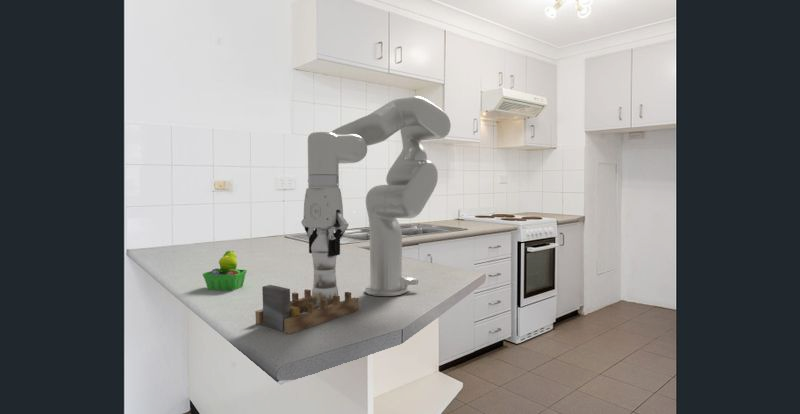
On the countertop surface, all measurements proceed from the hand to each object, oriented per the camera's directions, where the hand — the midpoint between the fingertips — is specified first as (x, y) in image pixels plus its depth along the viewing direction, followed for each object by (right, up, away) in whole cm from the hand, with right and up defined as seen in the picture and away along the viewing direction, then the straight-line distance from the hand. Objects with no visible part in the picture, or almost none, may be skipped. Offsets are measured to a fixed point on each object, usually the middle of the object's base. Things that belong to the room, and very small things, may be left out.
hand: (324, 253), depth 110 cm
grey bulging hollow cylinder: (0, -13, +1) cm, 13 cm away
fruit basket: (-36, -14, +28) cm, 47 cm away
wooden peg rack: (-3, -15, -3) cm, 16 cm away
